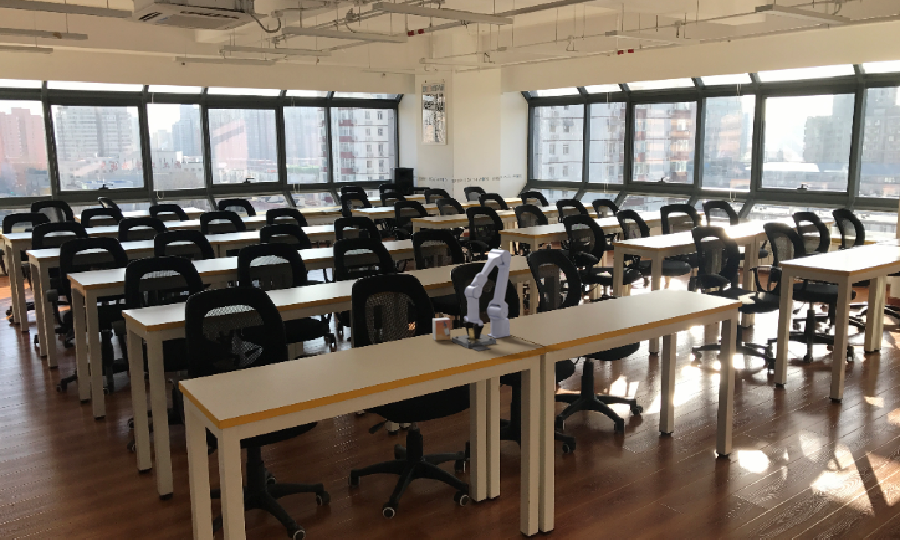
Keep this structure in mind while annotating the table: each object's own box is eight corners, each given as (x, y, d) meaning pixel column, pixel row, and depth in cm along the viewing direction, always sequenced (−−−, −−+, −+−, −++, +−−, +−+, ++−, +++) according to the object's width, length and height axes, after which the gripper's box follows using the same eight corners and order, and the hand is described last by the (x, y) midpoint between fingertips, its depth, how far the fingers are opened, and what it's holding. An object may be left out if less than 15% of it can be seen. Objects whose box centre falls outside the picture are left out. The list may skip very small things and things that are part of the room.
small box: (435, 341, 355) (434, 320, 353) (432, 338, 360) (432, 318, 358) (450, 339, 357) (450, 319, 355) (447, 337, 362) (447, 316, 360)
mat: (482, 346, 343) (482, 345, 343) (490, 349, 337) (490, 348, 337) (470, 348, 340) (470, 347, 340) (478, 351, 334) (478, 350, 334)
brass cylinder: (475, 340, 354) (475, 327, 353) (480, 342, 350) (479, 328, 349) (467, 342, 351) (467, 328, 350) (472, 344, 347) (471, 330, 346)
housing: (479, 336, 361) (478, 332, 361) (496, 343, 348) (496, 338, 347) (451, 341, 354) (451, 336, 353) (468, 348, 340) (468, 343, 339)
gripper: (458, 308, 352) (459, 335, 354) (473, 313, 340) (474, 341, 342) (470, 306, 356) (471, 333, 358) (486, 311, 343) (486, 339, 345)
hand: (473, 337), depth 350 cm, fingers open, 7 cm apart
